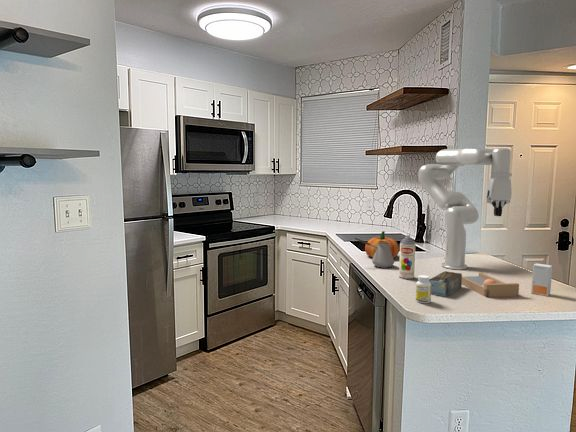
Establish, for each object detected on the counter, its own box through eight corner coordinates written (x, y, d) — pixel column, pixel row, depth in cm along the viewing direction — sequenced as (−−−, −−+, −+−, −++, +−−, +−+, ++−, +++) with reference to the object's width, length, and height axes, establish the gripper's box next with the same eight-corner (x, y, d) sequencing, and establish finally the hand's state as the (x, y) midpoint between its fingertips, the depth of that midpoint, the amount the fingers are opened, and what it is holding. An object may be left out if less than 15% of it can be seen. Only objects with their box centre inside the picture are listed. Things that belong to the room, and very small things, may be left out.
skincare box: (530, 293, 168) (532, 264, 167) (533, 291, 171) (535, 263, 170) (547, 296, 164) (550, 267, 162) (550, 294, 166) (552, 265, 165)
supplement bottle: (422, 298, 160) (423, 273, 159) (433, 302, 156) (434, 277, 154) (412, 300, 158) (413, 275, 157) (423, 304, 153) (424, 278, 152)
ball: (485, 293, 170) (479, 285, 174) (496, 293, 170) (490, 285, 174) (489, 284, 167) (482, 276, 171) (500, 284, 168) (494, 276, 172)
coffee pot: (391, 264, 220) (392, 236, 219) (396, 269, 209) (397, 239, 207) (351, 263, 221) (352, 235, 219) (354, 268, 210) (354, 239, 208)
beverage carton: (426, 293, 168) (426, 277, 167) (443, 284, 182) (444, 269, 181) (445, 297, 162) (446, 281, 162) (462, 287, 177) (463, 272, 176)
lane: (453, 279, 189) (453, 268, 189) (480, 278, 190) (481, 268, 190) (486, 297, 162) (486, 284, 162) (518, 296, 164) (519, 284, 163)
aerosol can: (397, 278, 190) (399, 235, 188) (400, 275, 196) (401, 233, 194) (413, 280, 187) (414, 236, 185) (414, 276, 194) (416, 234, 192)
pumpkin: (362, 259, 232) (363, 233, 230) (367, 253, 250) (367, 228, 248) (398, 261, 226) (398, 234, 224) (399, 255, 244) (400, 230, 242)
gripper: (510, 175, 192) (508, 215, 194) (479, 175, 190) (477, 215, 192) (520, 176, 184) (518, 216, 186) (489, 175, 183) (486, 216, 185)
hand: (497, 215), depth 189 cm, fingers closed
